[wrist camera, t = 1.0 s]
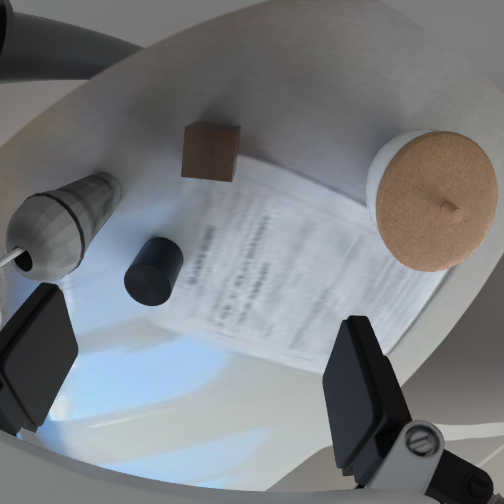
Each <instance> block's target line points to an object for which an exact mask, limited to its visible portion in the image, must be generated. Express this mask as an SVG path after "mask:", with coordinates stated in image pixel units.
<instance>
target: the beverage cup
mask: <svg viewBox="0 0 504 504" xmlns="http://www.w3.org/2000/svg"><path fill="white" fill-rule="evenodd" d="M121 196H122V195H121V188H120V185H119V183H118V181H117V180H116V178H114V177H113V176H112V175H110V174H108V173H97V174H93V175H90V176H88V177H85V178H83V179H80V180H78V181H75V182H73V183H70V184H68V185H65V186H63V187H61V188H58V189H56V190H54V191H47V192H43V193H36V194H34V195H32V196H30V197H28V198H27V199H26V200H25V201H24V202H23V204H22V205H21V206H20V207H19V208H18V209H17V210H16V212H15V213H14V214H13V215H12V217H11V219H10V222H9V225H8V228H7V232H6V249H7V254H6V255H4V256H3V257H1V258H0V267H1V266H2V265H4V264H5V263H7V262H8V261H11V263H12V265H13V266H14V268H15V269H16V270H17V271H18V272H19V273H20V274H21V275H22V276H24V277H26V278H28V279H30V280H32V281H36V282H42V283H43V282H45V283H46V282H51V281H56V280H59V279H61V278H63V277H64V276H66V275H67V274H69V273H71V272H72V271H73V270H75V269H76V268H77V267H79V265H80V263H81V261H82V259H83V258H84V254H85V252H86V250H87V248H88V246H89V244H90V242H91V241H92V240H93V238H94V237H95V235H96V234H97V233H98V231H99V230H100V229H101V227H102V226H103V225H104V223H105V222H106V221H107V220H108V218H109V217H110V216H111V214H112V213H113V212H114V210H115V209H116V207H117V206H118V204H119V203H120V200H121Z"/></svg>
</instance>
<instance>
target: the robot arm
mask: <svg viewBox="0 0 504 504" xmlns="http://www.w3.org/2000/svg"><path fill="white" fill-rule="evenodd" d="M77 355H78V345H77V342H76V338H75V335H74V332H73V328H72V325H71V321H70V318H69V314H68V310H67V307H66V303H65V299H64V295H63V292H62V290H60V289H59V287H58V285H56V284H51V283H45V282H43V283H41V284H40V285H39V286H38V287H37V288H36V289H35V291H34V292H33V293H32V294H31V295H30V296H29V297H28V299H27V300H26V301H25V302H24V303H23V304H22V306H21V307H20V308H19V309H18V310H17V311H16V313H15V314H14V315H13V316H12V318H11V319H10V320H9V321H8V322H7V324H6V325H5V326H4V327H3V329H2V330H1V331H0V504H504V498H502V496H501V495H500V494H499V493H498V494H497V495H494V494H493V482H492V480H491V478H490V476H489V475H488V474H487V473H486V472H485V471H483V470H482V469H480V468H478V467H476V466H474V465H472V464H471V463H469V462H467V461H465V460H463V459H461V458H460V457H458V456H456V455H454V454H452V453H451V452H449V451H447V450H445V449H444V445H445V443H444V437H443V435H442V433H441V431H440V430H439V429H438V428H437V427H436V426H435V425H433V424H432V423H430V422H427V421H423V420H415V421H412V418H411V415H410V412H409V410H408V407H407V404H406V402H405V399H404V396H403V394H402V391H401V388H400V386H399V383H398V381H397V378H396V375H395V373H394V370H393V368H392V365H391V363H390V361H389V359H388V357H387V356H385V355H383V353H382V350H381V348H380V345H379V343H378V340H377V338H376V336H375V333H374V331H373V328H372V326H371V324H370V321H369V319H368V317H367V316H354V315H350V316H349V317H348V319H347V320H343V321H342V323H341V326H340V329H339V332H338V335H337V338H336V341H335V344H334V347H333V350H332V352H331V355H330V358H329V361H328V364H327V366H326V369H325V372H324V375H323V390H324V395H325V401H326V406H327V412H328V418H329V424H330V430H331V436H332V442H333V448H334V454H335V460H336V465H337V467H338V468H342V473H343V476H351V475H354V478H355V482H356V483H357V484H356V486H355V487H354V489H352V490H351V489H350V490H331V491H311V492H261V491H239V490H226V489H215V488H205V487H197V486H189V485H182V484H176V483H170V482H164V481H158V480H153V479H148V478H143V477H138V476H134V475H129V474H125V473H121V472H117V471H113V470H109V469H106V468H102V467H98V466H95V465H92V464H88V463H85V462H82V461H78V460H75V459H72V458H69V457H66V456H63V455H61V454H58V453H55V452H52V451H50V450H47V449H44V448H42V447H39V446H37V445H34V444H32V443H29V442H27V441H25V440H22V438H21V434H20V429H21V427H23V428H24V429H27V430H29V431H32V432H34V433H36V430H37V428H38V426H41V425H42V424H43V423H44V420H45V418H46V416H47V414H48V412H49V410H50V408H51V406H52V404H53V402H54V400H55V398H56V396H57V394H58V392H59V390H60V388H61V386H62V384H63V382H64V380H65V378H66V376H67V374H68V372H69V370H70V369H71V367H72V365H73V363H74V361H75V359H76V357H77Z"/></svg>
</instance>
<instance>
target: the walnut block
mask: <svg viewBox="0 0 504 504" xmlns="http://www.w3.org/2000/svg"><path fill="white" fill-rule="evenodd" d="M240 129H241V127H240V126H231V125H221V124H210V123H199V122H195V123H192V124H190V125H188V126H186V127H185V134H184V146H183V158H182V172H181V177H188V178H198V179H207V180H217V181H225V182H232V181H233V177H234V174H235V170H236V162H237V153H238V145H239V137H240Z"/></svg>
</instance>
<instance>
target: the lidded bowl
mask: <svg viewBox="0 0 504 504" xmlns="http://www.w3.org/2000/svg"><path fill="white" fill-rule="evenodd" d="M365 195H366V202H367V207H368V211H369V214H370V217H371V220H372V222H373V224H374V226H375V228H376V230H377V232H378V233H379V235H380V236H381V238H382V240H383V242H384V243H385V245H386V247H387V248H388V250H389V251H390V252H391V253H392V255H393V256H394V257H395V258H396V259H397V260H398V261H399V262H400V263H402V264H403V265H405V266H407V267H409V268H411V269H414V270H417V271H423V272H435V271H441V270H445V269H448V268H450V267H453V266H455V265H457V264H459V263H460V262H462V261H463V260H465V259H466V258H467V257H468V256H470V255H471V254H472V253H473V252H474V251H475V250H476V249H477V248H478V246H479V245H480V244H481V242H482V241H483V240H484V238H485V237H486V235H487V233H488V231H489V229H490V227H491V224H492V222H493V219H494V216H495V212H496V207H497V198H498V191H497V181H496V176H495V172H494V169H493V166H492V164H491V162H490V160H489V158H488V156H487V155H486V153H485V152H484V150H483V149H482V148H481V147H480V146H479V145H478V144H477V143H475V142H474V141H472V140H471V139H470V138H468V137H465V136H463V135H461V134H458V133H453V132H448V131H440V130H434V129H416V130H411V131H407V132H404V133H401V134H399V135H397V136H395V137H393V138H392V139H390V140H389V141H388V142H387V143H386V144H384V145H383V146H382V147H381V149H380V150H379V151H378V152H377V154H376V155H375V157H374V159H373V160H372V162H371V165H370V167H369V170H368V174H367V178H366V186H365Z"/></svg>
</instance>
